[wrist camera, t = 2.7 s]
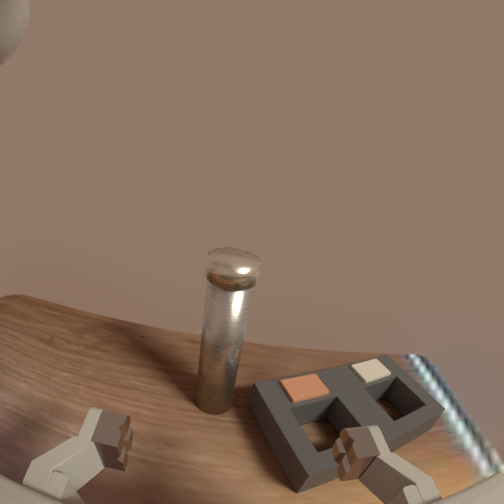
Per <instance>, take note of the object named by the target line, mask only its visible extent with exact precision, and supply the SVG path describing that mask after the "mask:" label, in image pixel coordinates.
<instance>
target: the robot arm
mask: <svg viewBox="0 0 504 504" xmlns="http://www.w3.org/2000/svg"><path fill="white" fill-rule="evenodd" d="M29 19H30V3H29V0H0V66H2V65H3V64H4V63H5V62H6V61H7V60H8V59H9V58H10V57H11V56H12V55H13V53H14V52H15V51H16V49H17V48H18V46H19V45H20V43H21V42H22V39H23V38H24V35H25V33H26V31H27V28H28V24H29ZM130 422H131V421H130V417H129V416H128V415H124V414H119V413H115V412H111V411H107V410H104V409H100V408H96V407H91V408H90V409H89V411H88V413H87V415H86V417H85V420H84V422H83V424H82V427H81V429H80V431H79V434H78V436H77V437H76V436H73V437H71V438H70V439H68V440H66V441H65V442H63V443H61V444H60V445H58V446H56V447H54V448H53V449H51V450H49V451H48V452H46V453H44V454H42V455H41V456H39V457H37V458H35V459H34V460H32V461H31V464H30V466H29V468H28V470H27V472H26V475H25V477H24V479H23V482H22V484H21V485H20V484H18V483H16V482H14V481H12V480H10V479H8V478H7V477H5V476H3V475H1V474H0V504H85V503H84V501H83V500H82V498H81V497H80V496H79V494H78V493H77V490H79V489H80V488H81V487H82V486H83V485H85V484H86V483H87V482H88V481H89V480H91V479H92V478H93V477H94V476H95V475H97V474H98V473H99V472H100V471H101V470H102V469H104V467H108V468H112V469H116V470H121V471H125V470H126V466H127V462H128V455H127V452H128V451H129V450H131V446H132V440H133V431H132V428H131V427H130V426H129V425H130ZM339 435H340V438H338V439H337V440H336V441H335V443H334V445H333V450H332V453H333V458H334V461H335V462H337V463H338V464H339V465H338V467H337V472H338V475H339V479H340V481H346V480H354V479H359V481H360V482H362V483H363V484H364V485H365V486H366V487H367V488H368V489H369V490H370V491H371V492H372V493H373V494H374V495H375V496H376V497H378V498H379V499H380V500H381V501H382V502H383V503H384V504H504V475H503V474H501V473H497V474H494V475H492V476H490V477H488V478H486V479H484V480H482V481H480V482H478V483H476V484H474V485H472V486H470V487H468V488H466V489H464V490H462V491H459V492H457V493H455V494H453V495H450V496H448V497H446V498H443V499H442V498H441V496H440V494H439V492H438V489H437V487H436V485H435V483H434V481H433V479H432V478H431V477H430V476H428V475H427V474H425V473H423V472H422V471H420V470H419V469H417V468H416V467H414V466H413V465H411V464H410V463H408V462H407V461H405V460H404V459H402V458H401V457H399V456H398V455H396V454H395V453H391V452H390V450H389V447H388V445H387V443H386V441H385V439H384V437H383V435H382V432H381V430H380V428H379V427H378V426H377V425H373V426H366V427H365V426H363V427H354V428H344V429H342V430H341V432H340V434H339Z"/></svg>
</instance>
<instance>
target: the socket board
mask: <svg viewBox="0 0 504 504" xmlns="http://www.w3.org/2000/svg"><path fill="white" fill-rule="evenodd" d="M384 397H386V398H387V399H388V400H389V401H390V402H391V403H392V404H393V405H394V406H395V407H396V408H397V409H398V410H399V411H400V412H401V414H402V415H403V416H404V417H402V418H400V419H398V420H396V421H394V420H393V419H392V418H391V417H390V416H389V415H388V414H387V413H386V412H385V411H384V410H383V408H382V407H381V406H380V405H379V404H378V403H377V402H376V400H379V399H382V398H384ZM249 407H250V409H251V410H252V412H253V414H254V416H255V418H256V420H257V422H258V424H259V426H260V428H261V430H262V432H263V434H264V435H265V437H266V439H267V441H268V443H269V445H270V447H271V448H272V450H273V452H274V454H275V456H276V458H277V459H278V461H279V463H280V465H281V466H282V468H283V470H284V472H285V474H286V475H287V477H288V479H289V481H290V482H291V484H292V486H293V487H294V489H295V491H296V493H299V492H302V491H305V490H308V489H311V488H313V487H316V486H319V485H321V484H324V483H326V482H329V481H331V480H334V479H336V478H339V475H338V472H337V467H338V465H339V464H338V463H337V462H335V461H334V458H333V453H332V450H333V448H330V449H327V450H324V451H321V452H317V450H316V449H315V447H314V446H313V444H312V443H311V441H310V440H309V438H308V437H307V435H306V434H305V432H304V431H303V429H302V428H301V426H300V425H303V424H307V423H310V422H314V421H317V420H321V419H324V418H327V419H328V420H329V422H330V423H331V424H332V426H333V427H334V428H335V430H336V431H337V432H338V434H340V432H341V430H342V429H344V428H354V427H363V426H365V427H366V426H373V425H377V426H378V427H379V428H380V430H381V432H382V435H383V437H384V439H385V441H386V443H387V445H388V447H389V450H390V452H393V451H395V450H396V449H398V448H400V447H402V446H403V445H405V444H407V443H409V442H410V441H412V440H414V439H415V438H417V437H419V436H420V435H422V434H424V433H425V432H427V431H428V430H430V429H431V428H432V427H433V425H434V424H435V423H436V421H437V420H438V418H439V417H440V416H441V414H442V413H443V411H444V410H445V408H444V407H442V406H441V405H440V404H439V403H438V402H437V401H436V400H435V399H434V398H433V397H432V396H431V395H430V394H429V393H427V392H426V391H425V390H424V389H423V388H422V387H421V386H420V385H419V384H418V383H417V382H416V381H415V380H413V379H412V378H411V377H410V376H409V375H408V374H407V373H406V372H405V371H404V370H403V369H402V368H400V367H399V366H398V365H397V364H396V363H395V362H394V361H393V360H392V359H391V358H390V357H389V356H387V355H386V354H385V355H382V356H378V357H374V358H371V359H367V360H363V361H359V362H355V363H351V364H347V365H343V366H339V367H334V368H330V369H325V370H321V371H316V372H311V373H306V374H301V375H296V376H290V377H285V378H279V379H273V380H267V381H260V382H254V385H253V389H252V394H251V398H250V402H249Z"/></svg>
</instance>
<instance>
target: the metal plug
mask: <svg viewBox="0 0 504 504" xmlns="http://www.w3.org/2000/svg"><path fill="white" fill-rule="evenodd" d="M206 263H207V264H206V271H205V277H206V279H207V288H206V297H205V306H204V316H203V326H202V336H201V346H200V357H199V369H198V380H197V393H196V404H197V406H198V407H199V408H200V409H201V410H202V411H203V412H205V413H208V414H212V415H219V414H223V413H225V412H227V411H228V410H229V409H230V408H231V404H232V399H233V394H234V388H235V383H236V378H237V373H238V367H239V362H240V357H241V351H242V346H243V341H244V335H245V330H246V324H247V319H248V314H249V308H250V303H251V298H252V292H253V287H254V286H256V284H257V281H258V276H259V270H260V265H261V259H260V258H259V257H258V256H256V255H255V254H253V253H251V252H248V251H245V250H241V249H236V248H216V249H212V250H210V251H209V252H208V254H207V262H206Z"/></svg>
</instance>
